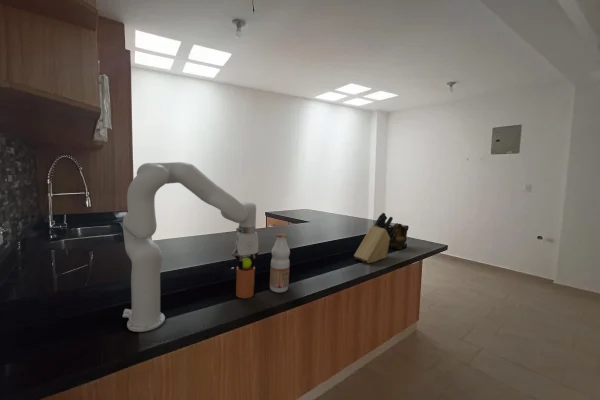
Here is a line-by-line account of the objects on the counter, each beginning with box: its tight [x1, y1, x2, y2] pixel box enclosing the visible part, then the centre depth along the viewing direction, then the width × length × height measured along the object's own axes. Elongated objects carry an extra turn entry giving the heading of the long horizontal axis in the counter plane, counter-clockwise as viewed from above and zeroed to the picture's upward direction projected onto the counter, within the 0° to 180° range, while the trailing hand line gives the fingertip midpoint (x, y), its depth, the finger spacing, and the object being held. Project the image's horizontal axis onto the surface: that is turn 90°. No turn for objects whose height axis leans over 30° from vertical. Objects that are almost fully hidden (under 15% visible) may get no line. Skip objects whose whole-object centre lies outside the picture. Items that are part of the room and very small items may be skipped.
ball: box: [242, 257, 252, 268], centre depth 136 cm, size 5×5×5 cm
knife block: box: [353, 212, 396, 264], centre depth 202 cm, size 11×35×31 cm, turn 133°
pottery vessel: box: [387, 222, 409, 250], centre depth 232 cm, size 25×11×20 cm, turn 132°
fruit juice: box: [269, 232, 291, 293], centre depth 144 cm, size 9×9×28 cm
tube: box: [235, 266, 256, 299], centre depth 137 cm, size 8×8×13 cm
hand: (246, 267), depth 136 cm, fingers closed on ball, 4 cm apart
